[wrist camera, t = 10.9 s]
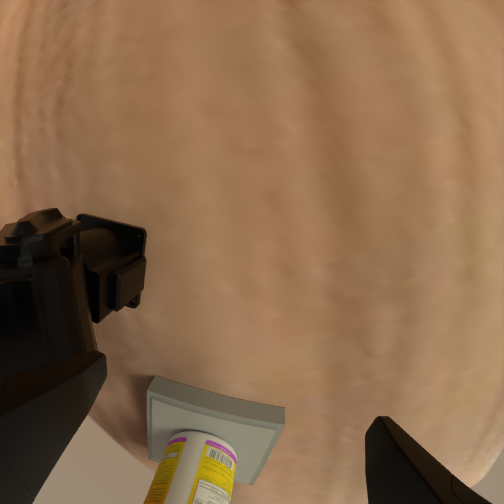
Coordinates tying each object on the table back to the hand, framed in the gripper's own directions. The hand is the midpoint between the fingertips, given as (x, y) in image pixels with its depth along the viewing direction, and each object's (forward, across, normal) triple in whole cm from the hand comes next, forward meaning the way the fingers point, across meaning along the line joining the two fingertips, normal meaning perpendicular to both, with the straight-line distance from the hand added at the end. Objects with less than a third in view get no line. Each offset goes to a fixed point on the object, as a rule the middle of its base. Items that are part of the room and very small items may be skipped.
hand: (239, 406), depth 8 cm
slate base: (+13, +1, +18) cm, 22 cm away
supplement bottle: (+11, +1, +18) cm, 21 cm away
